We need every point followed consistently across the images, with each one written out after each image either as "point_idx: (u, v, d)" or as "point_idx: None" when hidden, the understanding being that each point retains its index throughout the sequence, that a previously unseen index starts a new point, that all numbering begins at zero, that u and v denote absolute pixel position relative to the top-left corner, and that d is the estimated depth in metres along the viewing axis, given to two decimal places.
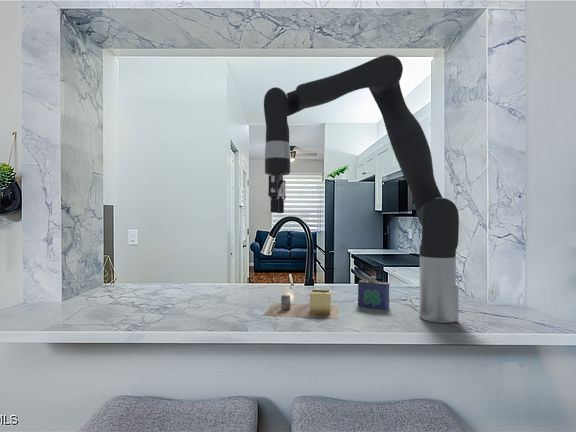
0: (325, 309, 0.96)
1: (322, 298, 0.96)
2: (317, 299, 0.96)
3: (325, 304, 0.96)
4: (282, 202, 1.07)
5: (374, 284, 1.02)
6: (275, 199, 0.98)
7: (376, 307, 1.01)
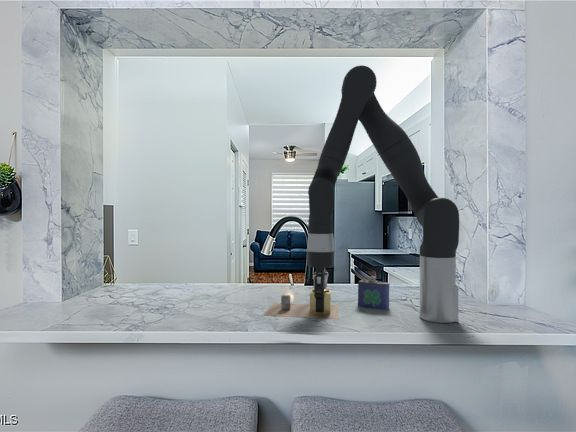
0: (325, 309, 0.96)
1: None
2: None
3: (325, 304, 0.96)
4: None
5: (374, 284, 1.02)
6: (321, 299, 0.94)
7: (376, 307, 1.01)
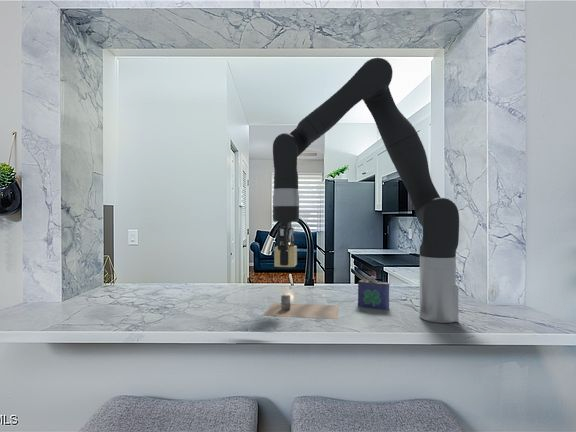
0: (289, 262, 0.97)
1: None
2: None
3: (289, 257, 0.97)
4: None
5: (374, 284, 1.02)
6: (285, 252, 0.96)
7: (376, 307, 1.01)
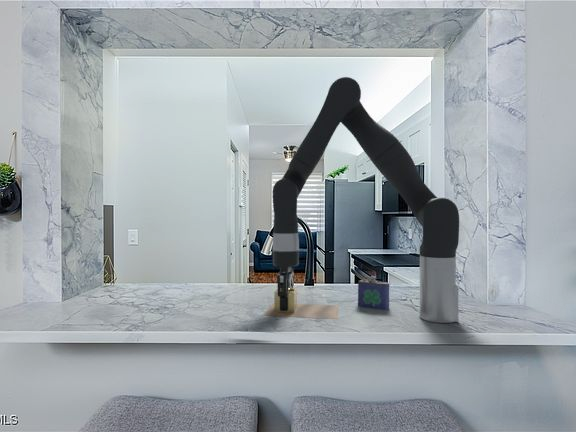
0: (289, 307, 0.97)
1: None
2: None
3: (289, 303, 0.97)
4: None
5: (374, 284, 1.02)
6: (284, 298, 0.96)
7: (376, 307, 1.01)
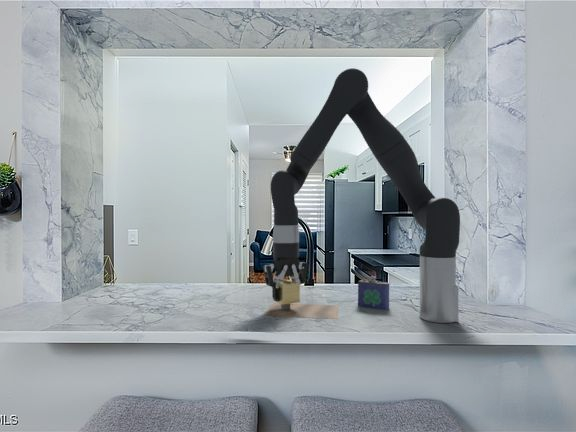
0: (280, 299, 0.98)
1: None
2: None
3: (280, 294, 0.98)
4: None
5: (374, 284, 1.02)
6: (274, 288, 0.98)
7: (377, 307, 1.01)
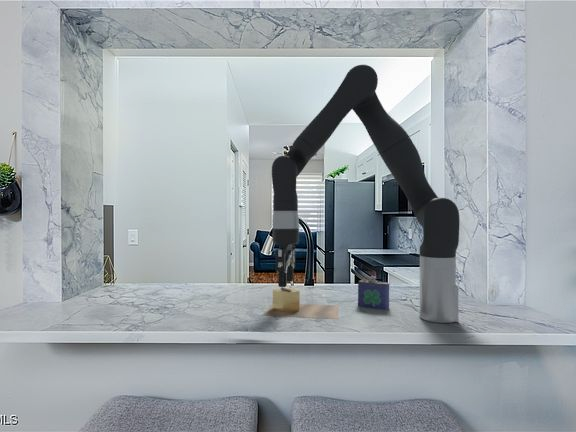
0: (280, 307, 0.97)
1: (278, 296, 0.98)
2: (276, 296, 0.99)
3: (280, 302, 0.97)
4: (291, 270, 1.03)
5: (374, 284, 1.02)
6: (283, 273, 0.94)
7: (376, 307, 1.01)
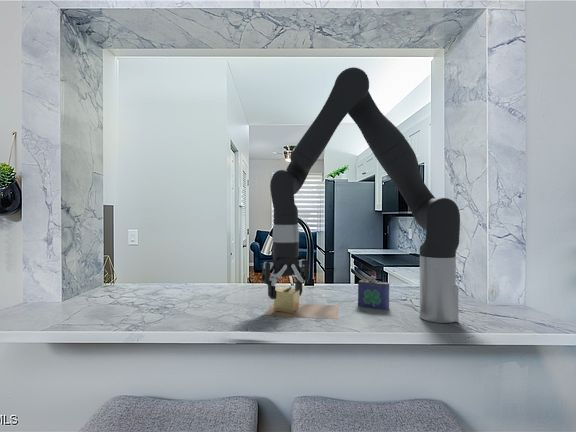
0: None
1: None
2: None
3: None
4: (298, 284, 1.01)
5: (374, 284, 1.02)
6: (269, 286, 0.97)
7: (376, 307, 1.01)
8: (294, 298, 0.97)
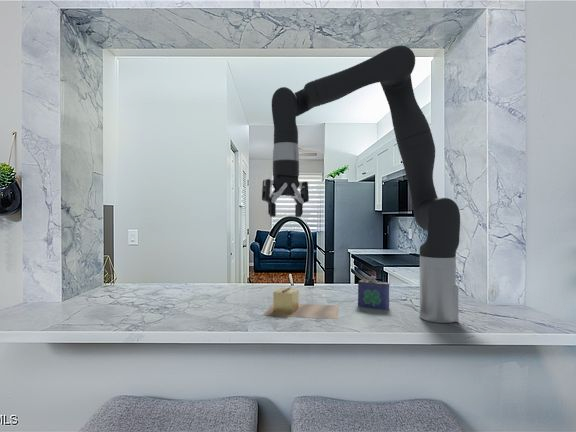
0: None
1: None
2: None
3: None
4: (298, 205, 1.02)
5: (374, 284, 1.02)
6: (270, 203, 0.97)
7: (376, 307, 1.01)
8: (293, 298, 0.97)
